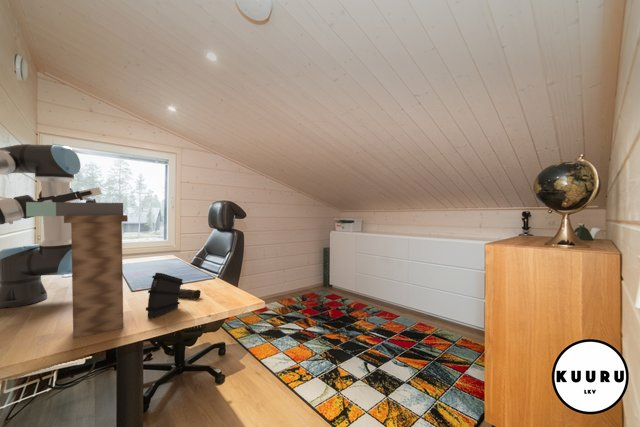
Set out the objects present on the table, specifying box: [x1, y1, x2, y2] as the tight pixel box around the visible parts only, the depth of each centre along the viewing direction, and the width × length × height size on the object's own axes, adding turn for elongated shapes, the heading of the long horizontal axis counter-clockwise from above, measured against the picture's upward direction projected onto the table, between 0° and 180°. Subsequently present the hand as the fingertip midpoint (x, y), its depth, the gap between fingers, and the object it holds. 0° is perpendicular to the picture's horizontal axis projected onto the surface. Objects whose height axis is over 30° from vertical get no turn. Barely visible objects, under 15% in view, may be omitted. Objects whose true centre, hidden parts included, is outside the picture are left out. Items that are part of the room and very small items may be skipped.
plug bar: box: [26, 202, 124, 217], centre depth 85 cm, size 22×4×4 cm, turn 127°
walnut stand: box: [64, 214, 129, 339], centre depth 88 cm, size 15×10×36 cm, turn 127°
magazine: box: [145, 272, 184, 319], centre depth 101 cm, size 4×13×15 cm, turn 162°
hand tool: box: [178, 288, 201, 301], centre depth 119 cm, size 19×4×5 cm, turn 70°
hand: (92, 192), depth 108 cm, fingers open, 13 cm apart
